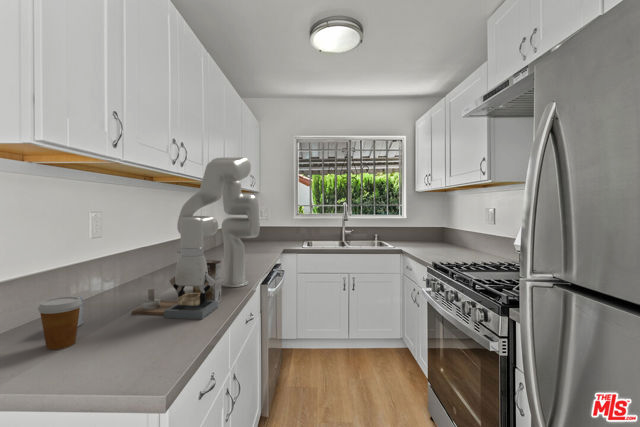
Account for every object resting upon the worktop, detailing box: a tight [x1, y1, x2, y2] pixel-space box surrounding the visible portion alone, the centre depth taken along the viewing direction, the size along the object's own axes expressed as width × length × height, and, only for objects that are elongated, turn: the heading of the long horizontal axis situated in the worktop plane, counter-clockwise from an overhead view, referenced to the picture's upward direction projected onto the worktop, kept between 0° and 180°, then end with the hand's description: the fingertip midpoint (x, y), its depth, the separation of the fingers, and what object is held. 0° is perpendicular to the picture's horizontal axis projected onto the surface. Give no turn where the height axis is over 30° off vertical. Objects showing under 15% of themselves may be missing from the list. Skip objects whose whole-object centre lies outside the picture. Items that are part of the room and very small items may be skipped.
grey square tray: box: [164, 300, 219, 320], centre depth 124 cm, size 13×13×2 cm
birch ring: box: [177, 292, 201, 306], centre depth 124 cm, size 7×9×2 cm
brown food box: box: [192, 259, 222, 304], centre depth 136 cm, size 9×6×16 cm
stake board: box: [131, 288, 178, 316], centre depth 128 cm, size 14×12×8 cm
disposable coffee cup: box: [37, 296, 82, 351], centre depth 95 cm, size 10×10×12 cm
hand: (192, 303), depth 123 cm, fingers closed on birch ring, 7 cm apart
